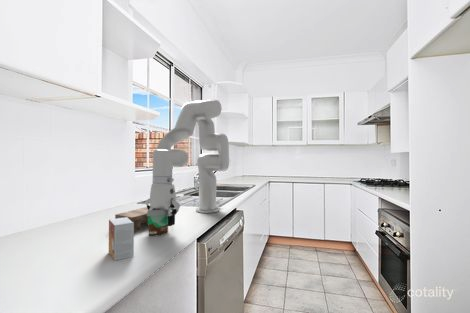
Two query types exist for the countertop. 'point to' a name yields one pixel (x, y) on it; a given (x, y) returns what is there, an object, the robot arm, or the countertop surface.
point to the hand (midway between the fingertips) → (162, 223)
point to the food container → (157, 222)
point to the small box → (121, 238)
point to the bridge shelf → (135, 217)
